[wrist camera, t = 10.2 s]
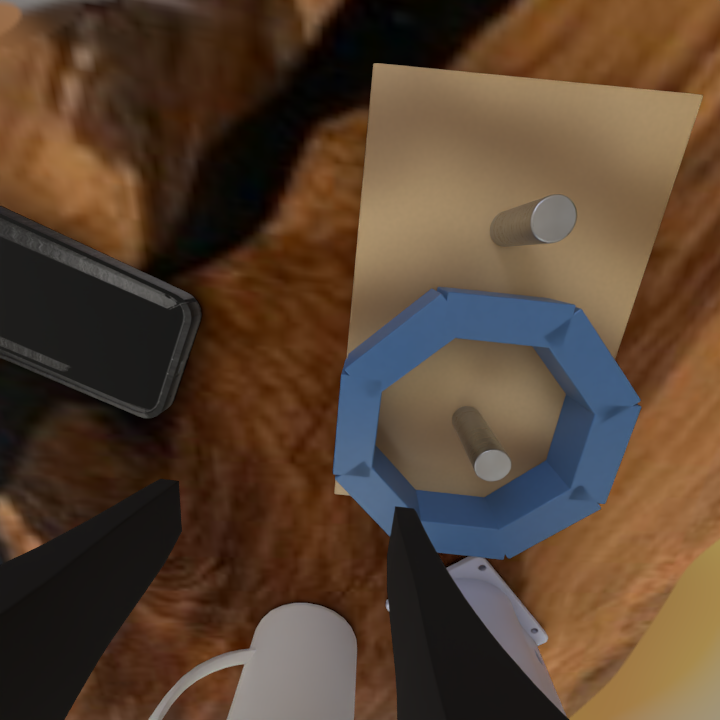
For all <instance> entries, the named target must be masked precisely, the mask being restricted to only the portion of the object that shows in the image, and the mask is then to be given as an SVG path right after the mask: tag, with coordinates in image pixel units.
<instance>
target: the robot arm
mask: <svg viewBox="0 0 720 720" xmlns="http://www.w3.org/2000/svg"><path fill="white" fill-rule="evenodd" d="M181 532H182V527H181V510H180V494H179V481H174V480H165V479H160V480H158V481H156V482H154V483H152V484H150V485H148V486H147V487H145V488H143V489H142V490H140V491H138V492H136V493H135V494H133V495H131V496H130V497H128V498H126V499H124V500H123V501H121V502H119V503H118V504H116V505H114V506H112V507H111V508H109V509H107V510H105V511H104V512H102V513H100V514H99V515H97V516H95V517H93V518H92V519H90V520H88V521H86V522H84V523H82V524H81V525H79V526H77V527H75V528H73V529H71V530H69V531H68V532H66V533H64V534H62V535H60V536H58V537H56V538H55V539H53V540H51V541H49V542H47V543H45V544H43V545H41V546H39V547H37V548H35V549H33V550H31V551H29V552H27V553H25V554H23V555H21V556H18V557H16V558H14V559H12V560H10V561H8V562H6V563H3V564H1V565H0V720H64V719H65V718H66V716H67V714H68V712H69V710H70V709H71V707H72V705H73V703H74V702H75V700H76V698H77V696H78V695H79V693H80V691H81V690H82V688H83V686H84V684H85V683H86V681H87V679H88V678H89V676H90V674H91V672H92V671H93V669H94V667H95V666H96V664H97V662H98V660H99V659H100V657H101V656H102V654H103V653H104V651H105V649H106V648H107V646H108V645H109V643H110V642H111V640H112V639H113V637H114V636H115V634H116V633H117V631H118V630H119V629H120V627H121V626H122V624H123V623H124V621H125V620H126V618H127V617H128V616H129V614H130V613H131V611H132V610H133V608H134V607H135V606H136V604H137V603H138V601H139V600H140V598H141V597H142V595H143V594H144V593H145V591H146V590H147V588H148V587H149V585H150V584H151V582H152V581H153V579H154V578H155V577H156V575H157V574H158V572H159V571H160V569H161V568H162V566H163V565H164V563H165V561H166V560H167V558H168V556H169V554H170V552H171V551H172V549H173V547H174V545H175V543H176V541H177V539H178V537H179V535H180V533H181ZM480 565H483V566H480ZM387 592H388V599H387V600H386V608H387V610H388V611H389V613H390V623H391V633H392V643H393V653H394V663H395V673H396V688H397V719H398V720H569V719H568V718H567V716H566V714H565V712H564V709H563V707H562V704H561V702H560V700H559V697H558V695H557V692H556V690H555V688H554V685H553V683H552V680H551V678H550V676H549V673H548V671H547V668H546V666H545V664H544V661H543V659H542V656H541V654H540V652H539V649H538V647H537V646H539V645H541V644H543V643H545V642H547V640H548V636H547V634H546V632H545V630H544V629H543V628H542V627H541V626H540V624H539V623H538V622H537V621H536V619H535V618H534V617H533V616H532V615H531V613H530V612H529V611H528V610H527V608H526V607H525V606H524V605H523V604H522V602H521V601H520V600H519V599H518V597H517V596H516V595H515V594H514V593H513V591H512V590H511V589H510V588H509V586H508V585H507V584H506V583H505V582H504V580H503V579H502V578H501V577H500V575H499V574H498V573H497V572H496V571H495V569H494V568H493V567H492V566H491V564H490V563H489V562H488V561H487V560H486V558H482V557H473V556H468V557H466V558H464V559H462V560H460V561H459V562H457V563H455V564H453V565H451V566H449V567H447V568H446V567H445V565H444V564H443V562H442V560H441V558H440V557H439V555H438V553H437V552H436V550H435V548H434V546H433V544H432V543H431V541H430V539H429V537H428V535H427V533H426V531H425V529H424V527H423V525H422V523H421V521H420V519H419V516H418V514H417V512H416V511H415V509H414V508H406V507H397V506H395V511H394V517H393V523H392V529H391V535H390V541H389V547H388V554H387Z"/></svg>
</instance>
